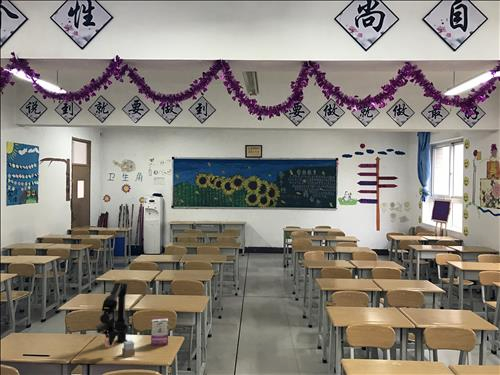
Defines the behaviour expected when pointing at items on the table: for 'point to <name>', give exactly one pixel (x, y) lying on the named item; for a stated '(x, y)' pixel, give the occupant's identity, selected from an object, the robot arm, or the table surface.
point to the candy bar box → (159, 332)
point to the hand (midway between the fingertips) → (109, 343)
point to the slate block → (128, 345)
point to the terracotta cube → (108, 342)
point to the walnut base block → (128, 352)
